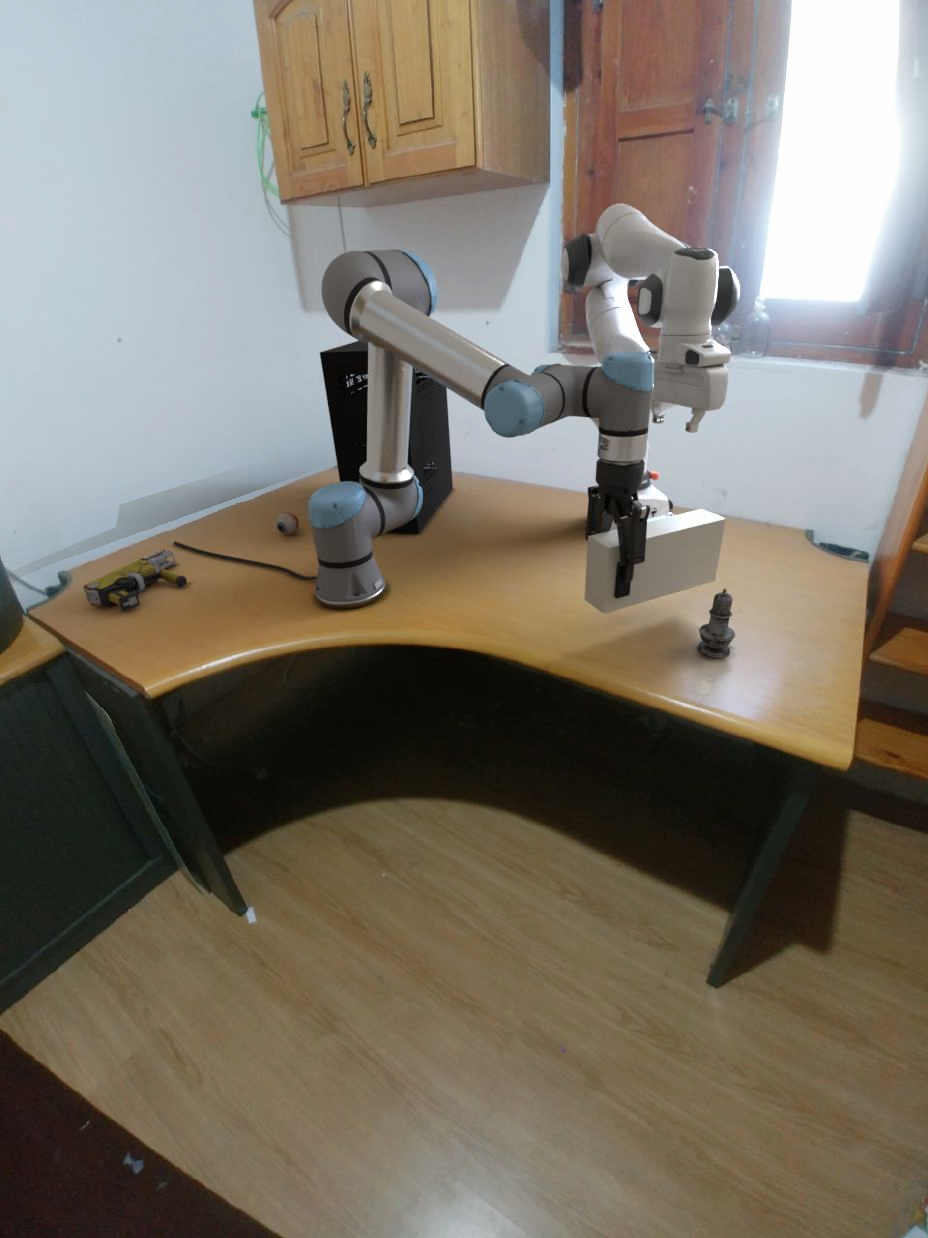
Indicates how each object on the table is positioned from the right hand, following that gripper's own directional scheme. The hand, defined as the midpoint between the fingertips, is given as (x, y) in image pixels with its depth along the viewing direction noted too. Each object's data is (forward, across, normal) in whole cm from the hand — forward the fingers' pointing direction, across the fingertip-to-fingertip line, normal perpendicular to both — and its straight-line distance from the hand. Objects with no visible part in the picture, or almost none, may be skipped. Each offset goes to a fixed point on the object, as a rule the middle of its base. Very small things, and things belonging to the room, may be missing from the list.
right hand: (673, 427), depth 118 cm
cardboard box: (+32, -71, -34) cm, 85 cm away
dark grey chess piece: (+32, +29, -12) cm, 45 cm away
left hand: (+22, +16, -25) cm, 37 cm away
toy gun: (+32, -52, -103) cm, 120 cm away
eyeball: (+32, -68, -68) cm, 102 cm away
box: (+24, +16, -16) cm, 33 cm away
